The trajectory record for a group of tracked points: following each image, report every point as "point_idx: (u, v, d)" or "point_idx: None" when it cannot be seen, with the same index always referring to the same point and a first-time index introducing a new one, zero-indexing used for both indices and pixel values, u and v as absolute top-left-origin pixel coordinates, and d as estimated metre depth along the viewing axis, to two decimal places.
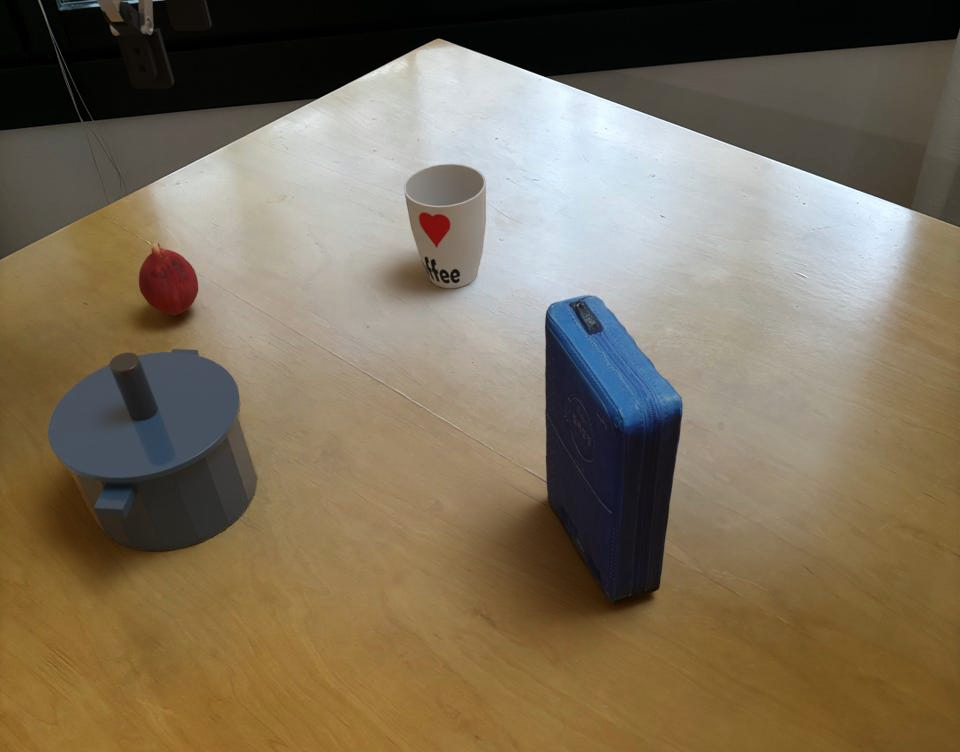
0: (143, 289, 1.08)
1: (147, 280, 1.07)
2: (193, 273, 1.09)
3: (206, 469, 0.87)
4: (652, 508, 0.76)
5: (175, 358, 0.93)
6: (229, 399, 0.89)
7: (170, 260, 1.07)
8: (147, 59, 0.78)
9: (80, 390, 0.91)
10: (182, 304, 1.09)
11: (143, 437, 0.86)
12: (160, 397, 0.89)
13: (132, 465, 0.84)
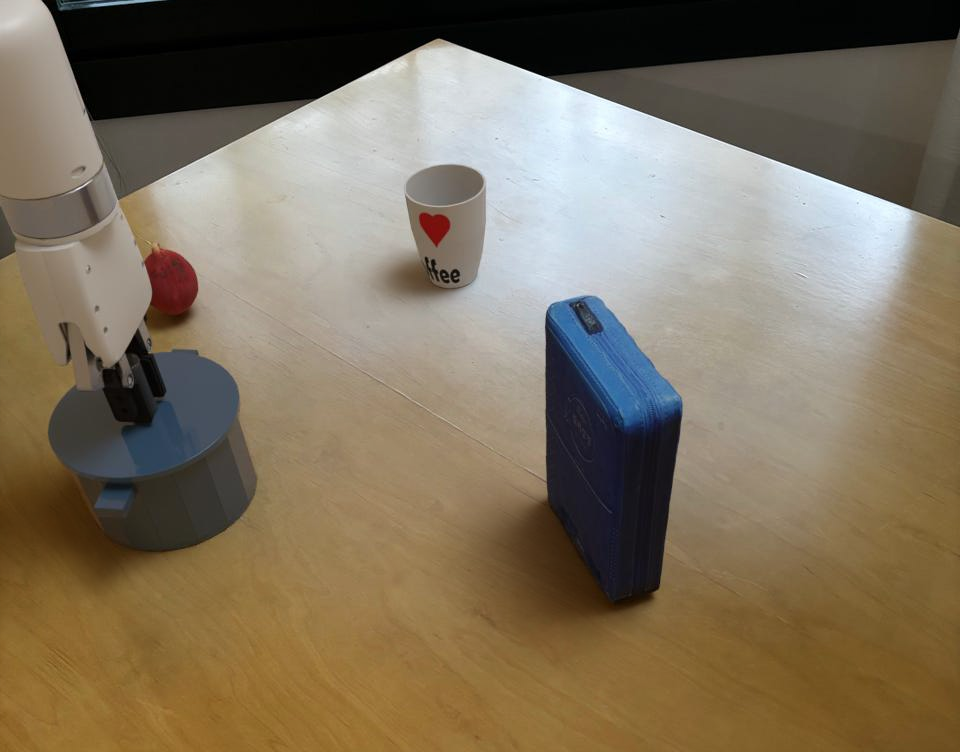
0: None
1: None
2: (193, 273, 1.09)
3: (206, 469, 0.87)
4: (652, 509, 0.76)
5: (175, 358, 0.93)
6: (229, 399, 0.89)
7: (170, 260, 1.07)
8: (129, 404, 0.85)
9: None
10: (182, 304, 1.09)
11: (143, 437, 0.86)
12: (160, 397, 0.89)
13: (132, 465, 0.84)
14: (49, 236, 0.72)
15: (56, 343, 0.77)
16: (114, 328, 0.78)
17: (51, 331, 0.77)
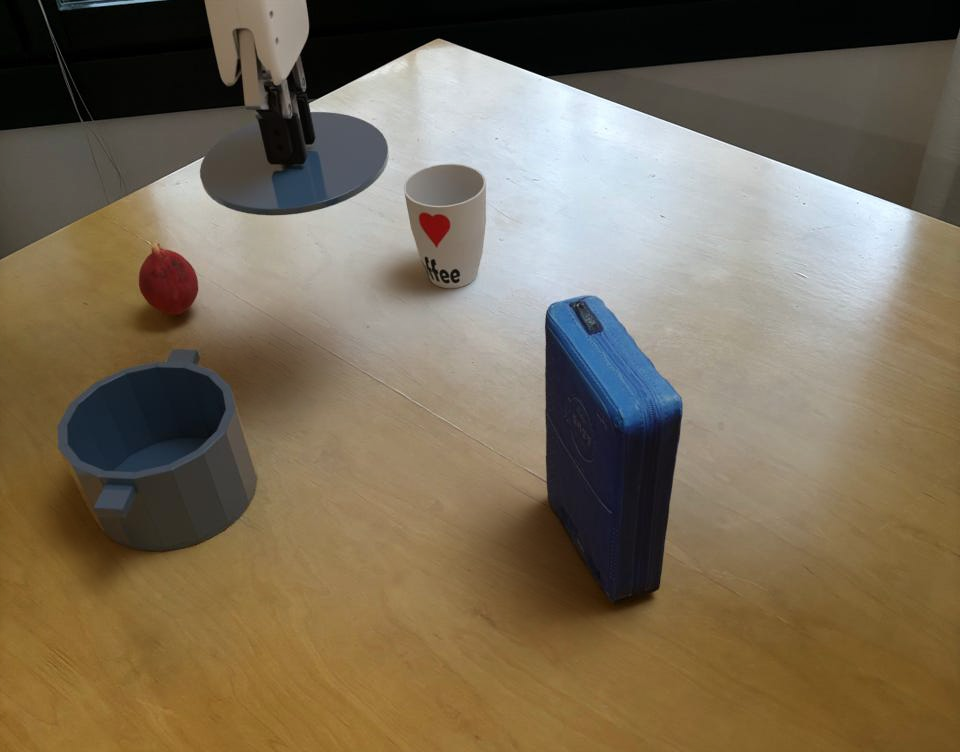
0: (143, 289, 1.08)
1: (147, 280, 1.07)
2: (193, 273, 1.09)
3: (206, 469, 0.87)
4: (652, 509, 0.76)
5: (318, 116, 0.94)
6: (377, 146, 0.90)
7: (170, 260, 1.07)
8: (285, 140, 0.86)
9: (227, 143, 0.92)
10: (182, 304, 1.09)
11: (296, 177, 0.87)
12: (308, 147, 0.90)
13: (289, 199, 0.85)
14: None
15: (227, 55, 0.78)
16: (283, 43, 0.79)
17: (224, 40, 0.78)
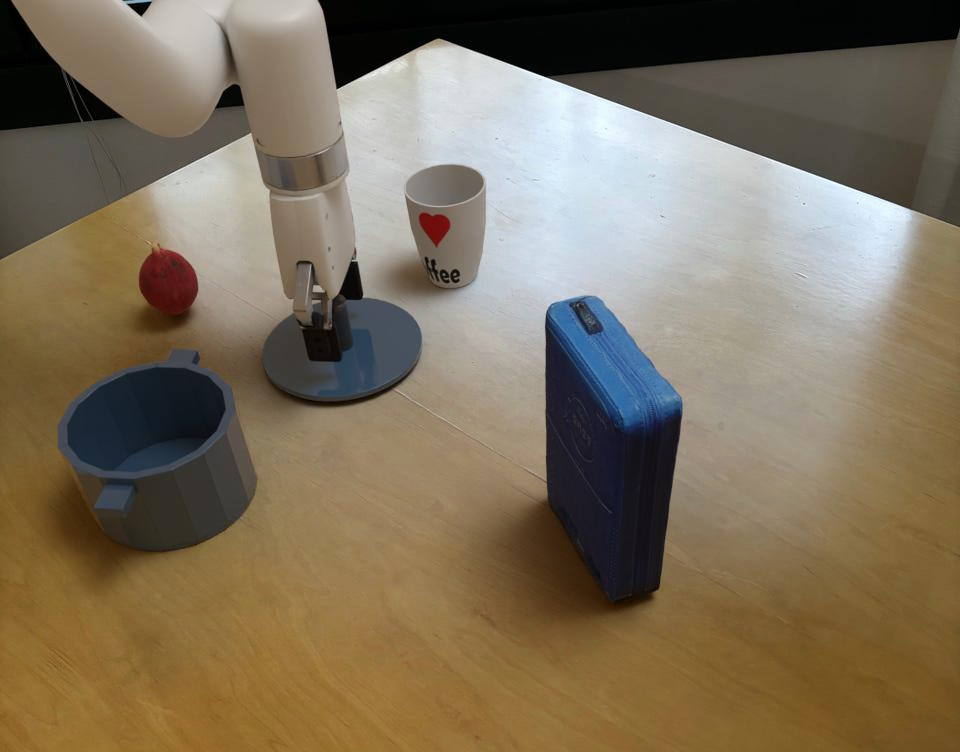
0: (143, 289, 1.08)
1: (147, 280, 1.07)
2: (193, 273, 1.09)
3: (206, 469, 0.87)
4: (652, 509, 0.76)
5: (360, 302, 1.09)
6: (413, 334, 1.05)
7: (170, 260, 1.07)
8: (325, 345, 0.98)
9: (284, 328, 1.08)
10: (182, 304, 1.09)
11: (345, 365, 1.03)
12: (353, 333, 1.06)
13: (340, 387, 1.01)
14: (300, 188, 0.89)
15: (291, 279, 0.94)
16: (337, 267, 0.95)
17: (289, 268, 0.93)
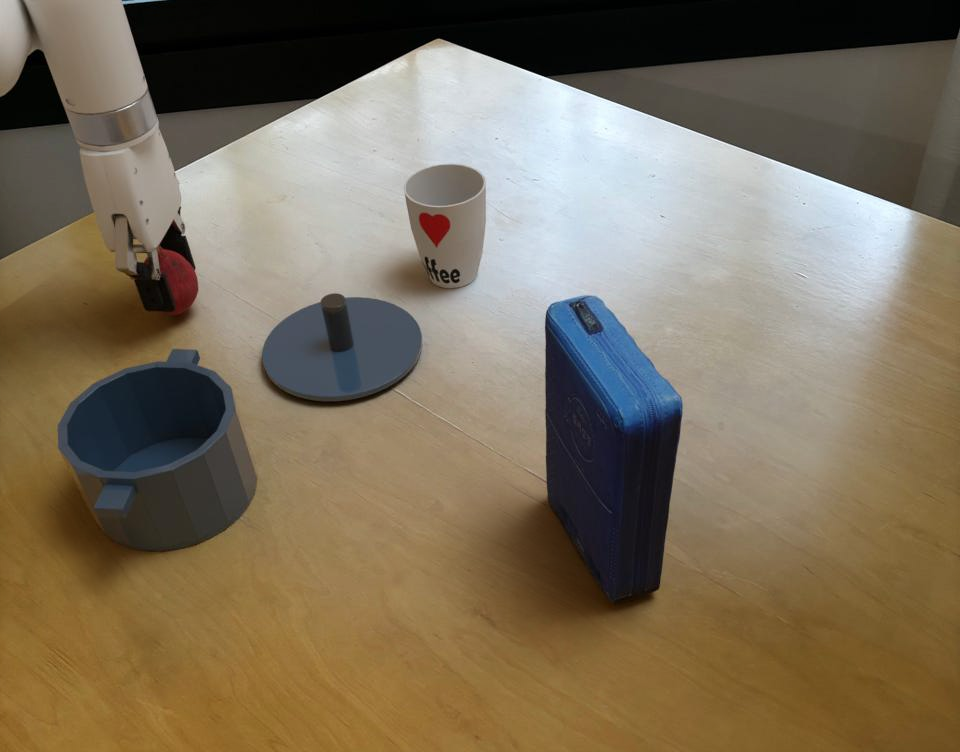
0: None
1: None
2: (193, 273, 1.09)
3: (206, 469, 0.87)
4: (652, 508, 0.76)
5: (360, 302, 1.09)
6: (413, 334, 1.05)
7: (170, 260, 1.07)
8: (156, 295, 1.06)
9: (284, 328, 1.08)
10: (182, 304, 1.09)
11: (345, 365, 1.03)
12: (353, 333, 1.06)
13: (340, 387, 1.01)
14: (106, 143, 0.94)
15: (109, 231, 1.00)
16: (153, 221, 1.01)
17: (105, 221, 0.99)
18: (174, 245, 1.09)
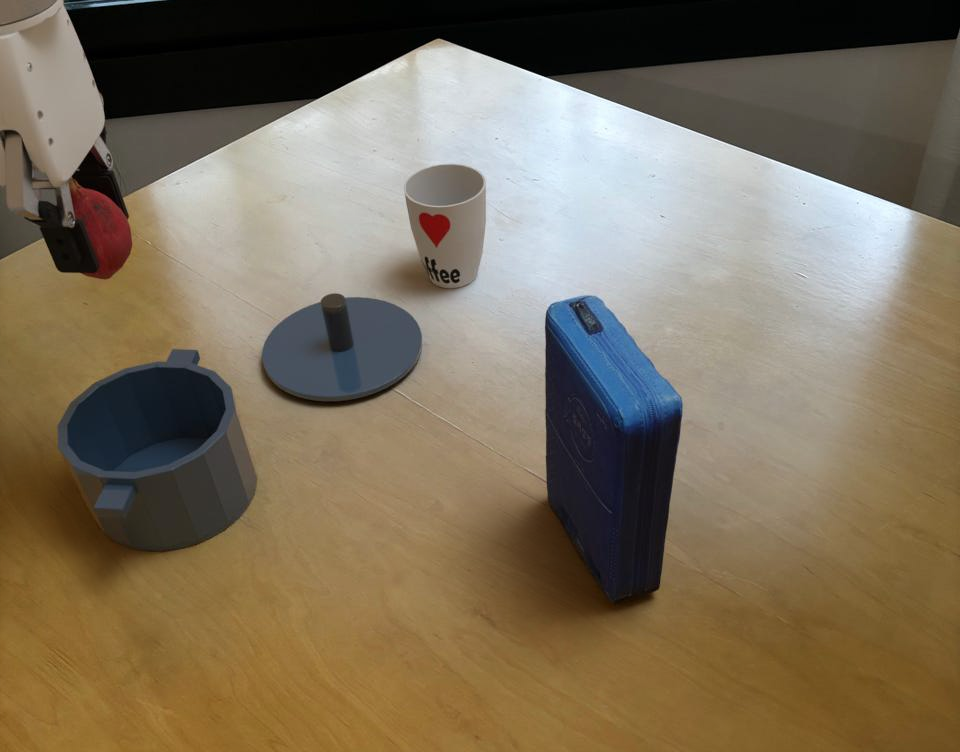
0: None
1: None
2: (124, 221, 0.81)
3: (206, 469, 0.87)
4: (652, 508, 0.76)
5: (360, 302, 1.09)
6: (413, 334, 1.05)
7: (91, 202, 0.78)
8: (70, 249, 0.77)
9: (284, 328, 1.08)
10: (110, 263, 0.81)
11: (345, 365, 1.03)
12: (353, 333, 1.06)
13: (340, 387, 1.01)
14: None
15: None
16: (61, 142, 0.72)
17: None
18: (98, 184, 0.81)
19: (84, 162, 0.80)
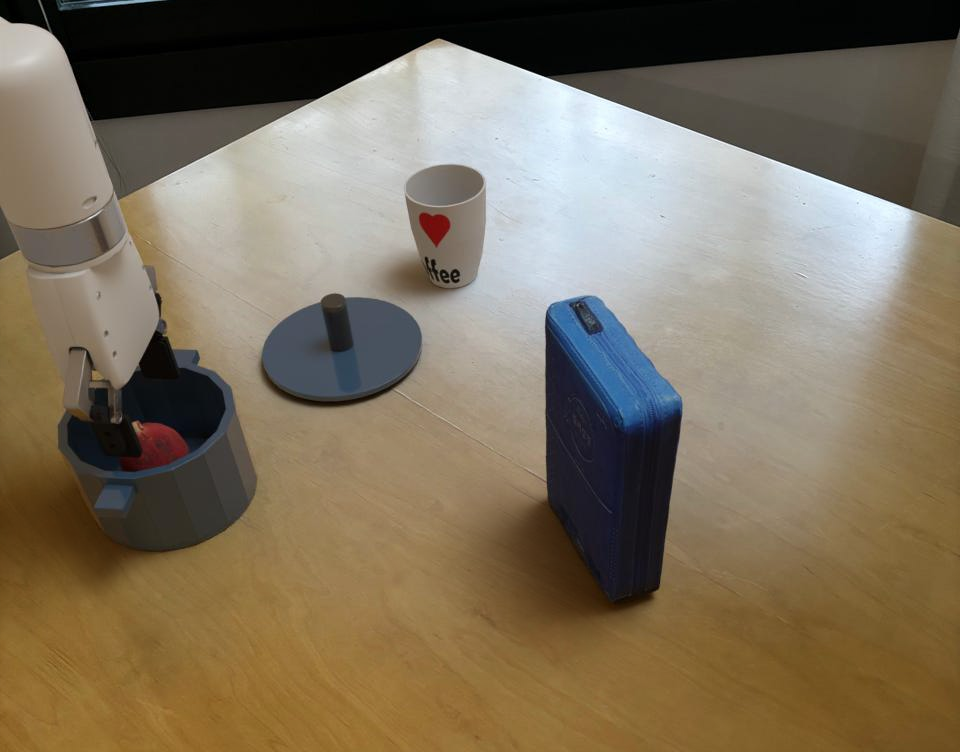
0: None
1: (129, 467, 0.90)
2: (183, 448, 0.91)
3: (206, 469, 0.87)
4: (652, 508, 0.76)
5: (360, 302, 1.09)
6: (413, 334, 1.05)
7: (154, 441, 0.89)
8: (117, 440, 0.83)
9: (284, 328, 1.08)
10: None
11: (345, 365, 1.03)
12: (353, 333, 1.06)
13: (340, 387, 1.01)
14: (60, 264, 0.74)
15: (66, 366, 0.79)
16: (123, 352, 0.80)
17: (61, 355, 0.78)
18: (153, 348, 0.89)
19: None
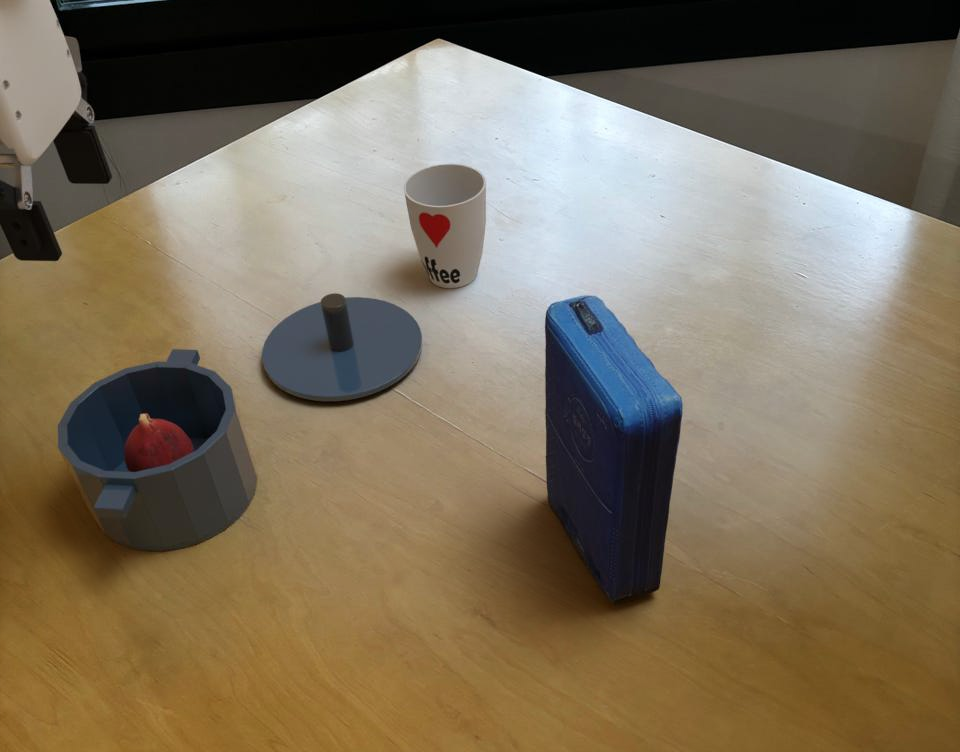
0: (130, 466, 0.91)
1: (134, 458, 0.90)
2: (189, 445, 0.92)
3: (206, 469, 0.87)
4: (652, 509, 0.76)
5: (360, 302, 1.09)
6: (413, 334, 1.05)
7: (161, 433, 0.90)
8: (28, 234, 0.70)
9: (284, 328, 1.08)
10: None
11: (345, 365, 1.03)
12: (353, 333, 1.06)
13: (340, 387, 1.01)
14: None
15: None
16: (30, 116, 0.66)
17: None
18: (78, 140, 0.75)
19: None
